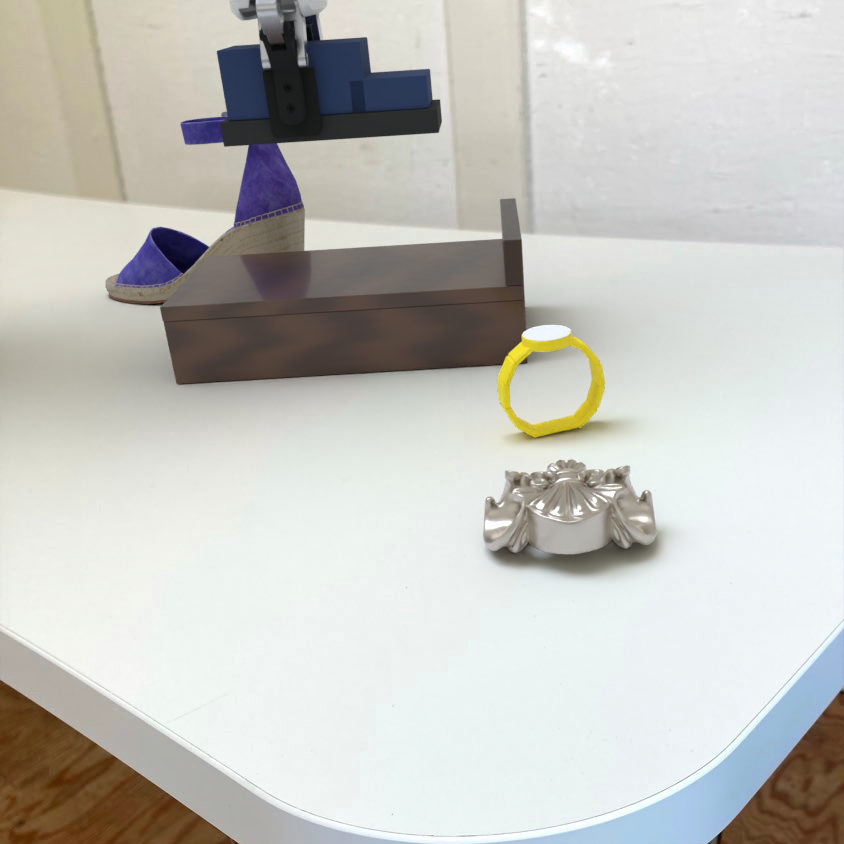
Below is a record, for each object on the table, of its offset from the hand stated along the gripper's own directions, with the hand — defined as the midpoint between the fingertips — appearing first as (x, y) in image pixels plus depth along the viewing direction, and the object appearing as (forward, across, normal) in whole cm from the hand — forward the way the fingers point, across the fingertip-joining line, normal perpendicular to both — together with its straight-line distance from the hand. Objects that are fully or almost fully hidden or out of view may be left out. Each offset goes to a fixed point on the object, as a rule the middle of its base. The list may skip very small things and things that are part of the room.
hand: (304, 126), depth 71 cm
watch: (+15, +18, +15) cm, 28 cm away
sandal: (+15, -16, -13) cm, 26 cm away
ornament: (+15, +32, +15) cm, 38 cm away
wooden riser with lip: (+15, 0, +2) cm, 15 cm away
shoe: (+1, 0, +2) cm, 2 cm away
